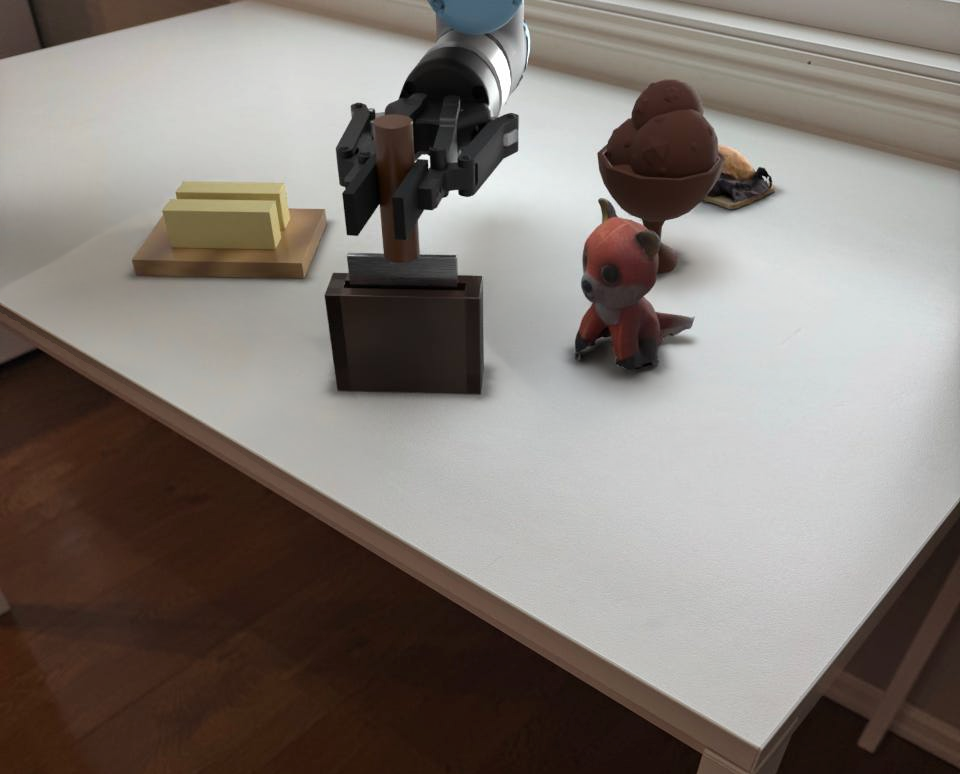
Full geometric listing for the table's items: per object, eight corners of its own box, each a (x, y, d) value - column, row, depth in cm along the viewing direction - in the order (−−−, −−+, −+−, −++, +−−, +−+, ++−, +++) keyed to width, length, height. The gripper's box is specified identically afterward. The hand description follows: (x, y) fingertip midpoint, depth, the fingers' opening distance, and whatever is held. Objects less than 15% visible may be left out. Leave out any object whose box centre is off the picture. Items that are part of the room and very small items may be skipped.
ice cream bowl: (569, 251, 93) (578, 78, 82) (665, 227, 96) (686, 58, 85) (630, 297, 86) (649, 116, 75) (731, 270, 90) (763, 92, 79)
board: (135, 275, 91) (131, 259, 89) (172, 221, 99) (168, 206, 98) (304, 278, 90) (301, 263, 89) (327, 223, 98) (325, 208, 97)
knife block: (337, 390, 76) (324, 295, 71) (344, 366, 79) (332, 272, 73) (481, 394, 76) (479, 298, 70) (483, 370, 78) (483, 275, 72)
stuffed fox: (716, 350, 80) (743, 203, 71) (614, 396, 75) (630, 244, 67) (653, 315, 84) (671, 171, 75) (553, 356, 80) (560, 208, 71)
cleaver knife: (358, 385, 76) (328, 127, 63) (363, 367, 78) (335, 113, 64) (458, 387, 76) (451, 128, 62) (461, 370, 78) (454, 114, 64)
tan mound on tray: (651, 183, 104) (655, 146, 102) (704, 162, 108) (709, 127, 105) (728, 213, 99) (734, 175, 96) (780, 190, 102) (788, 154, 100)
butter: (171, 247, 91) (161, 210, 89) (190, 217, 96) (182, 180, 93) (275, 249, 91) (269, 212, 88) (290, 219, 95) (284, 182, 93)
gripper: (548, 152, 80) (493, 283, 64) (366, 139, 82) (269, 263, 66) (553, 49, 74) (493, 164, 59) (358, 39, 77) (249, 147, 61)
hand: (374, 216), depth 63 cm, fingers closed on cleaver knife, 3 cm apart
